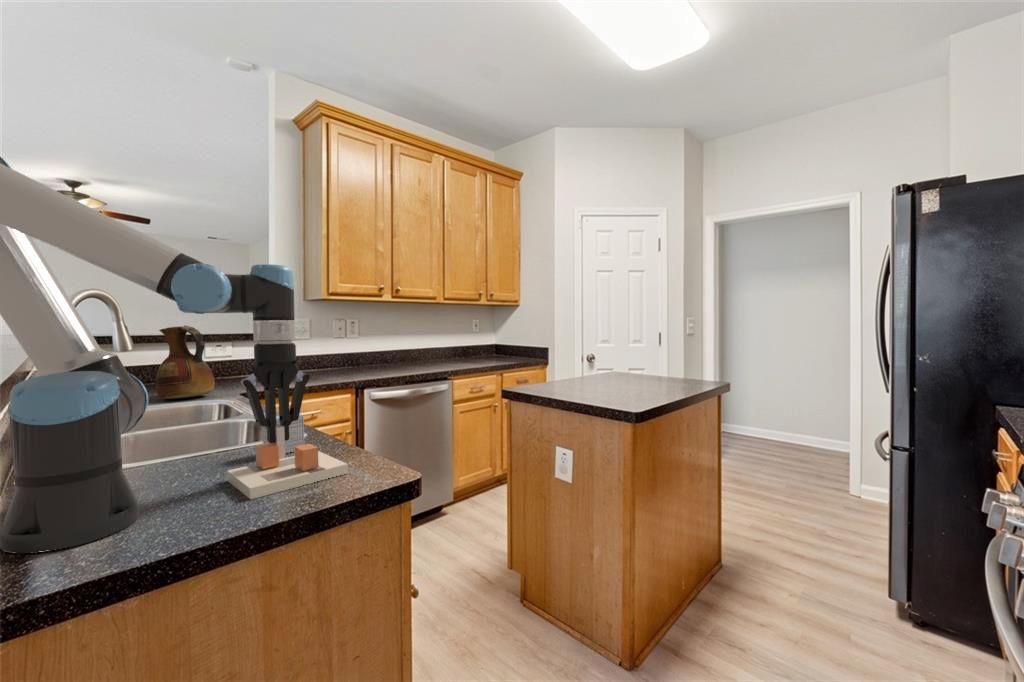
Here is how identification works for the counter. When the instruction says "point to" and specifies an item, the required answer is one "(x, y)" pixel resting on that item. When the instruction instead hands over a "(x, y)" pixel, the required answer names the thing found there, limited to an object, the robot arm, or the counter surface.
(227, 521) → the counter surface
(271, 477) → the switch bank
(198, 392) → the ceramic pitcher
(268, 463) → the far tab
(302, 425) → the medicine box
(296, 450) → the near tab
